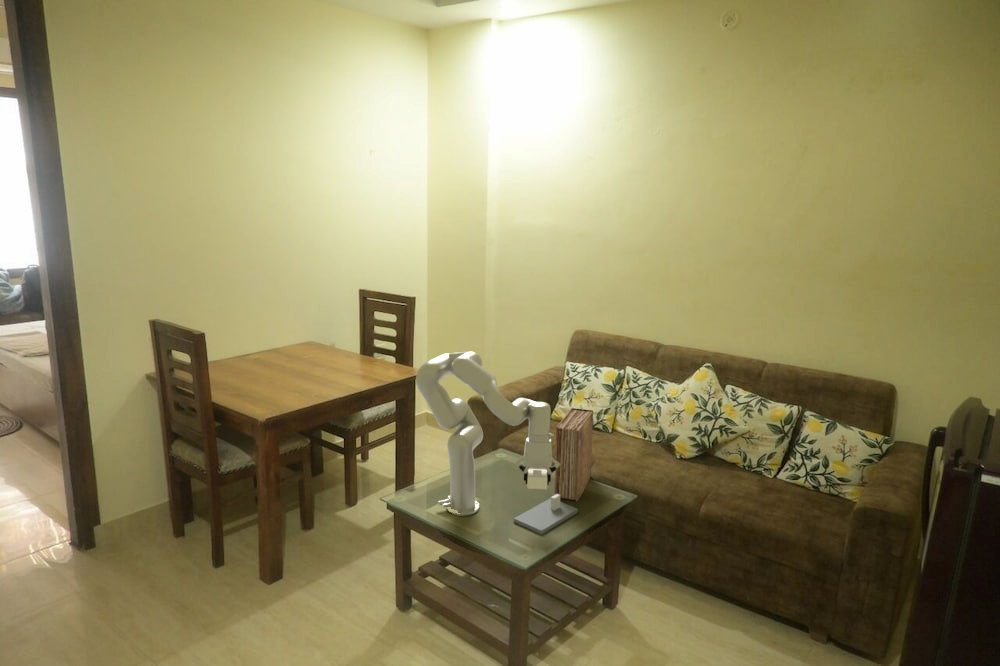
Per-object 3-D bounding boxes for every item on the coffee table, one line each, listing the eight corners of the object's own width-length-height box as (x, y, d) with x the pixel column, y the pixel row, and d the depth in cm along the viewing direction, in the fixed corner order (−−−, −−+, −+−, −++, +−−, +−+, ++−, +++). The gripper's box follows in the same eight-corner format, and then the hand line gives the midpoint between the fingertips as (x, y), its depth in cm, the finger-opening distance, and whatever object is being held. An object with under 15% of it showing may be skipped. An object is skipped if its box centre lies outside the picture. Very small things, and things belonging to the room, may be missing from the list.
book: (577, 502, 241) (579, 430, 235) (554, 498, 244) (555, 427, 238) (591, 476, 264) (593, 410, 258) (570, 473, 268) (571, 407, 262)
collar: (546, 489, 220) (547, 477, 219) (527, 488, 220) (527, 476, 219) (546, 480, 227) (546, 469, 226) (527, 480, 227) (527, 468, 226)
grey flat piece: (541, 534, 218) (541, 517, 216) (513, 522, 226) (513, 505, 225) (577, 512, 233) (578, 496, 232) (550, 501, 242) (551, 486, 241)
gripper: (562, 433, 223) (560, 479, 227) (514, 431, 224) (513, 477, 227) (563, 441, 216) (561, 488, 219) (514, 439, 216) (512, 486, 220)
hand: (537, 482), depth 223 cm, fingers closed on collar, 7 cm apart
